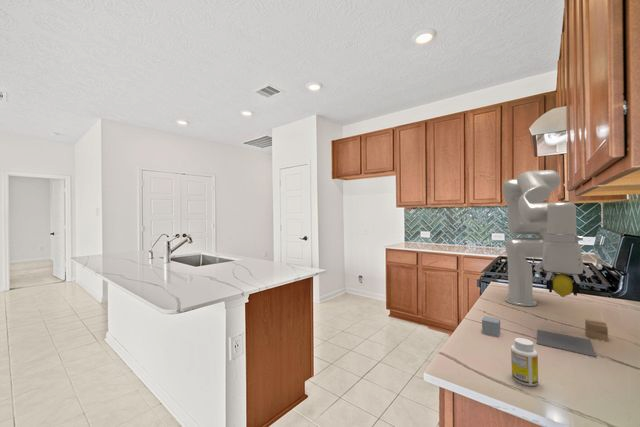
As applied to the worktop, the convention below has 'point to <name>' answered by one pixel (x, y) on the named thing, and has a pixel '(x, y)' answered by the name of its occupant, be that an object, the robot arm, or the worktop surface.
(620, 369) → the worktop surface
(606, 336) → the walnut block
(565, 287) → the lemon
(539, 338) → the mat
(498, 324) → the slate block
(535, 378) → the supplement bottle
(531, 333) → the worktop surface
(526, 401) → the worktop surface
